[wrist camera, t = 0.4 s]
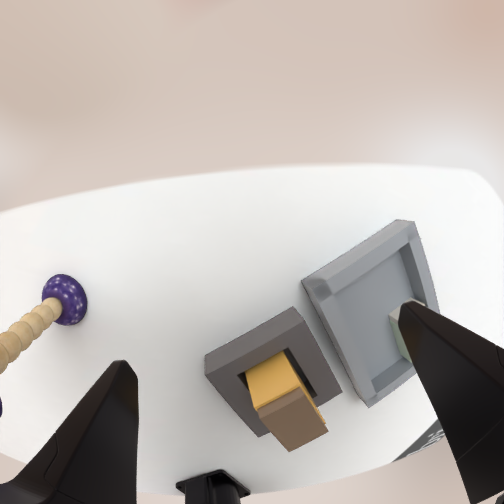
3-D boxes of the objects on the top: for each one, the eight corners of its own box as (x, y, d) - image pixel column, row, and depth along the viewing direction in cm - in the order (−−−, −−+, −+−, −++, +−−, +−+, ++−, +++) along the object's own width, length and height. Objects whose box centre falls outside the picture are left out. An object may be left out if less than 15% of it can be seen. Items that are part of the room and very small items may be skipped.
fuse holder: (329, 374, 24) (342, 392, 21) (253, 416, 24) (258, 437, 21) (292, 306, 22) (304, 320, 20) (204, 355, 22) (205, 375, 19)
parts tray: (431, 338, 26) (446, 347, 23) (357, 394, 25) (368, 408, 23) (396, 219, 23) (414, 221, 20) (300, 280, 22) (311, 289, 20)
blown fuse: (301, 380, 23) (331, 432, 16) (269, 397, 23) (288, 454, 16) (278, 341, 22) (304, 392, 15) (242, 361, 22) (256, 417, 15)
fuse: (422, 336, 25) (434, 344, 23) (400, 353, 24) (411, 363, 22) (411, 296, 24) (425, 303, 22) (387, 315, 23) (400, 323, 21)
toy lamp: (94, 328, 20) (-16, 477, 4) (50, 330, 20) (-65, 448, 4) (81, 271, 20) (-79, 375, 3) (37, 276, 19) (-112, 358, 3)
